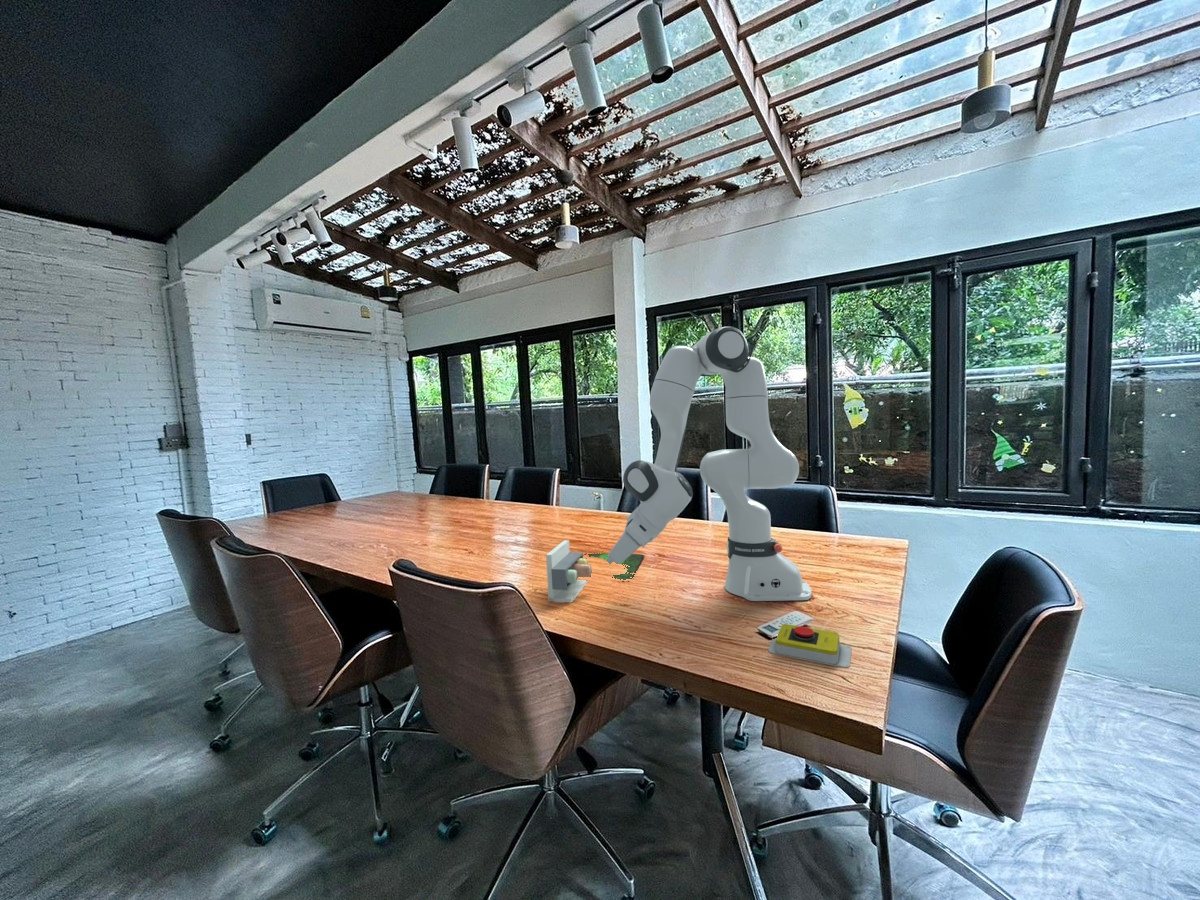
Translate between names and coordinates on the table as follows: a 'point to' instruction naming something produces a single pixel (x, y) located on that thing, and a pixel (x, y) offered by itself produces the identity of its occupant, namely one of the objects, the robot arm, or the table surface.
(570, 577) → the sage button
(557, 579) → the console
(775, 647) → the emergency button
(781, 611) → the table surface
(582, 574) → the terracotta button
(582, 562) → the mustard button
